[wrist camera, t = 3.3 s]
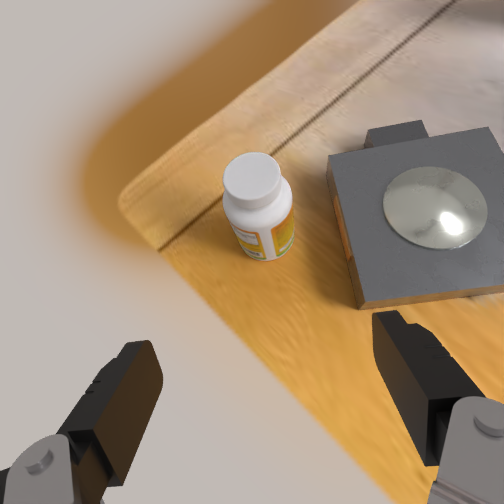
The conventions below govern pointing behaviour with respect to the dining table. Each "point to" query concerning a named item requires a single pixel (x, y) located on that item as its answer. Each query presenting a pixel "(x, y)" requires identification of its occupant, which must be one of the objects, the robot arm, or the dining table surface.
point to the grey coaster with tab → (420, 215)
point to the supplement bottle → (259, 205)
